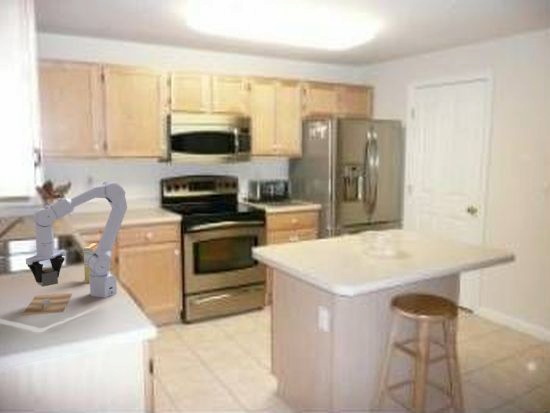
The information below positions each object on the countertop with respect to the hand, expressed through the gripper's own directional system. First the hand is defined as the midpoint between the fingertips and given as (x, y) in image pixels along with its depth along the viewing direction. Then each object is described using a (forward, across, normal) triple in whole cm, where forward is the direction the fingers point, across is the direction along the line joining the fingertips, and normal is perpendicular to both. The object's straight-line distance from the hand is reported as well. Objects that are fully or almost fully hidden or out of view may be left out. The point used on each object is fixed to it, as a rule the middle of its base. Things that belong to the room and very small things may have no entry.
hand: (47, 279), depth 168 cm
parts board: (+10, +1, +1) cm, 10 cm away
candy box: (+10, -29, -9) cm, 32 cm away
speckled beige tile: (+8, +5, +4) cm, 10 cm away
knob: (+2, 0, 0) cm, 2 cm away
